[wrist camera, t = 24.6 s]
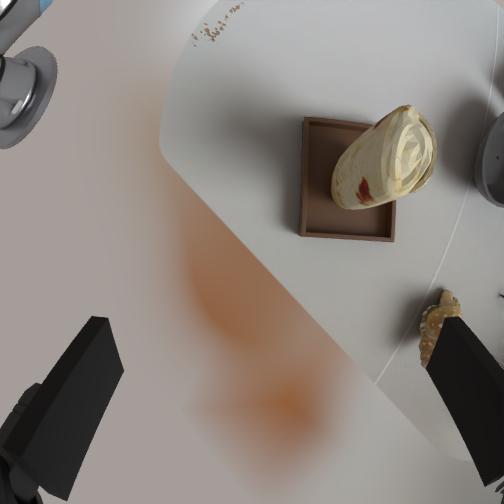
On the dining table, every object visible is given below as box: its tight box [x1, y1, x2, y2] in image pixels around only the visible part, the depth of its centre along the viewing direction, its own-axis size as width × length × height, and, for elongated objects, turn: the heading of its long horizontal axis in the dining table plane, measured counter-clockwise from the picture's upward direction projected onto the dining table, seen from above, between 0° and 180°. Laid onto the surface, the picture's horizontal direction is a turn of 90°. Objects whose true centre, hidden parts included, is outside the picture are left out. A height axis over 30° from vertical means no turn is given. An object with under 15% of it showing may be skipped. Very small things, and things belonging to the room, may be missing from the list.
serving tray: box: [299, 117, 396, 242], centre depth 40 cm, size 13×16×3 cm
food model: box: [330, 105, 437, 210], centre depth 30 cm, size 10×7×20 cm
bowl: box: [474, 112, 504, 208], centre depth 36 cm, size 12×22×6 cm, turn 138°
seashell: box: [419, 290, 462, 368], centre depth 40 cm, size 9×8×10 cm
